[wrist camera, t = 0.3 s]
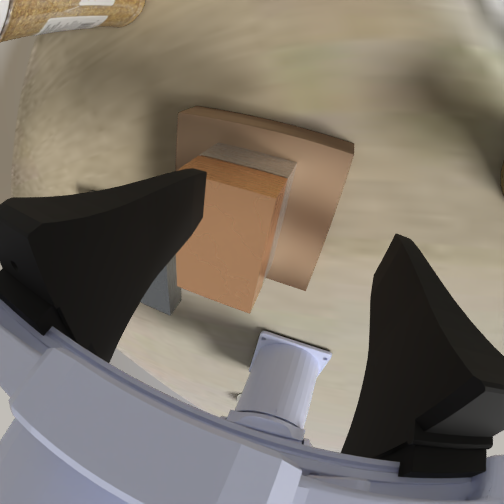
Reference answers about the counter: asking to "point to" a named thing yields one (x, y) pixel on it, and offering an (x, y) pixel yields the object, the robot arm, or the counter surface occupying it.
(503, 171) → the olive tapered column
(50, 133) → the counter surface
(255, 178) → the block
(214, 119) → the stand
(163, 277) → the stand
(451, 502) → the robot arm
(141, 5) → the sprinkles bottle
